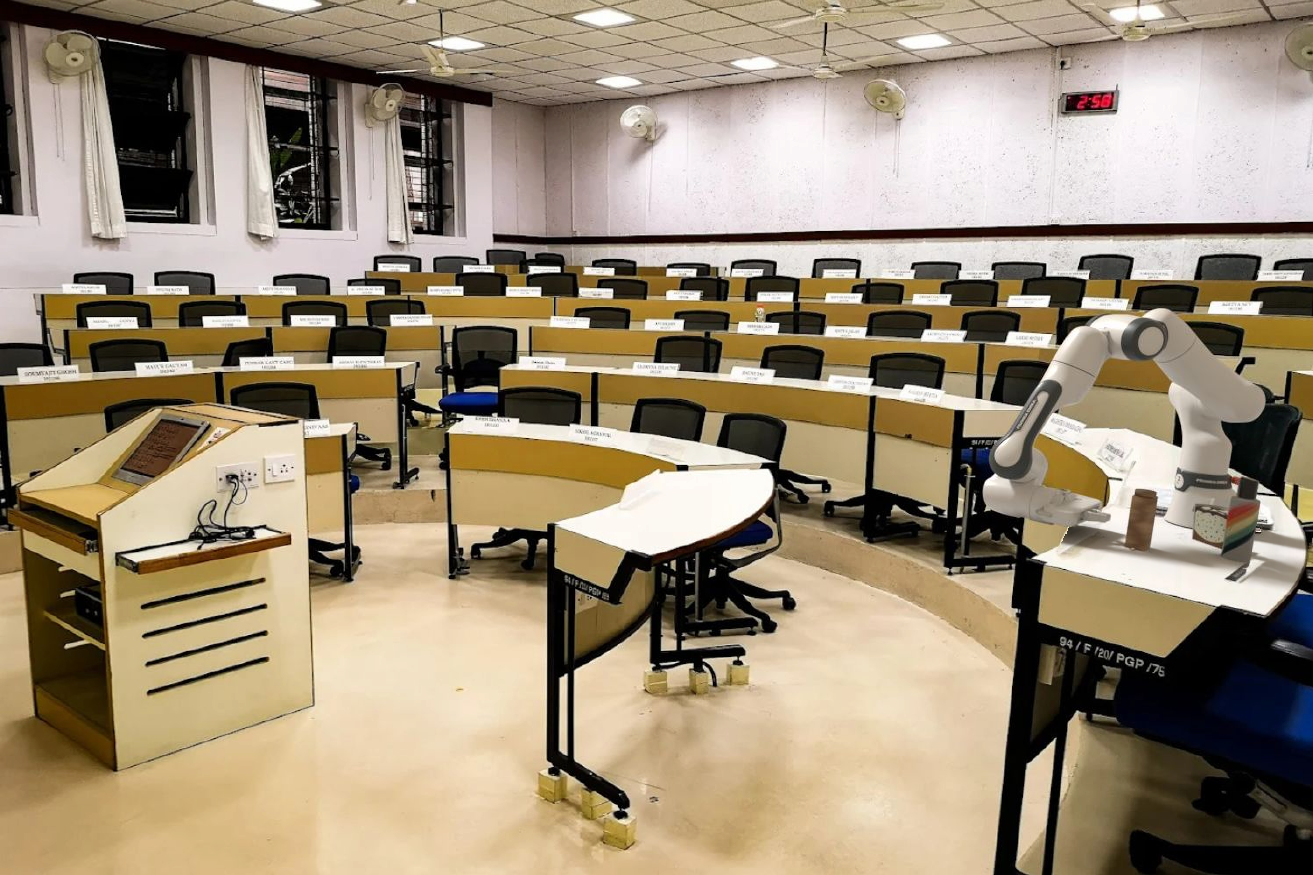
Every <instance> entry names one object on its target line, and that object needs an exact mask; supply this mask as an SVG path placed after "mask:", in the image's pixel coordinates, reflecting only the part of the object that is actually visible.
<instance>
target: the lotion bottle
mask: <svg viewBox="0 0 1313 875" xmlns="http://www.w3.org/2000/svg"><path fill="white" fill-rule="evenodd" d="M1259 484H1260V481H1259V480H1257V479H1255V478H1252V477H1250V476H1249V477H1248V476H1243V475H1242V476H1240V477H1239V482H1238V485H1237V489H1236V493H1237V496H1232V497H1231V500H1230V505H1229V511H1228V517H1227V523H1226V529H1225V534H1224V540H1223V546H1222V549H1221V554H1220V557H1221V558H1224V559H1226V560H1230V561H1233V562H1239V563H1244V564H1242V565H1241V566H1240V567H1239V568H1245V569H1247V568H1249V567H1250V563H1251V558H1252V555H1253V554H1252V553H1253V550H1254V549H1253V548H1254V542H1255V537H1256V533H1255V532H1256V526H1257V525H1258V521H1259V520H1258V519H1259V515H1260V514H1259V513H1260V508H1261V500H1260V499H1257V495H1258V490H1259Z"/></svg>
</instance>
